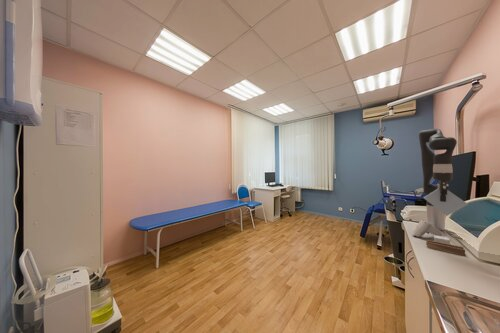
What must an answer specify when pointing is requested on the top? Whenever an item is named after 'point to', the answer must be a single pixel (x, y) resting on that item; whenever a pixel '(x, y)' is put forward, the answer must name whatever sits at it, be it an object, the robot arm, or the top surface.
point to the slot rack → (445, 247)
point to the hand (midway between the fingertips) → (442, 201)
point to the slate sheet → (446, 207)
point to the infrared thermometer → (426, 229)
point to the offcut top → (441, 239)
